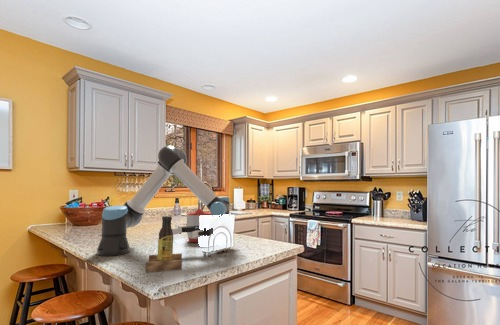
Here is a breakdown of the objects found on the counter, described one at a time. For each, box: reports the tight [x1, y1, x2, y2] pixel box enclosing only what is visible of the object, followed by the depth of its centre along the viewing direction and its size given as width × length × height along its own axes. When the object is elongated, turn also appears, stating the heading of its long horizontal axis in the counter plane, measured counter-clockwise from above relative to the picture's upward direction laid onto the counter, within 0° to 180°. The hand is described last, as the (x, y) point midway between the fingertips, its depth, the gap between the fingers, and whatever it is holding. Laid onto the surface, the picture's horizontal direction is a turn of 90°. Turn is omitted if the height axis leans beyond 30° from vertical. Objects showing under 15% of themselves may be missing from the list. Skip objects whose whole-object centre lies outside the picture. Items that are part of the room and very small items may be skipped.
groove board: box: [145, 252, 183, 273], centre depth 122 cm, size 14×13×3 cm
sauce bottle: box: [156, 215, 174, 261], centre depth 122 cm, size 6×6×20 cm
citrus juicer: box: [186, 208, 213, 243], centre depth 176 cm, size 16×17×20 cm
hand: (181, 233), depth 131 cm, fingers open, 13 cm apart
